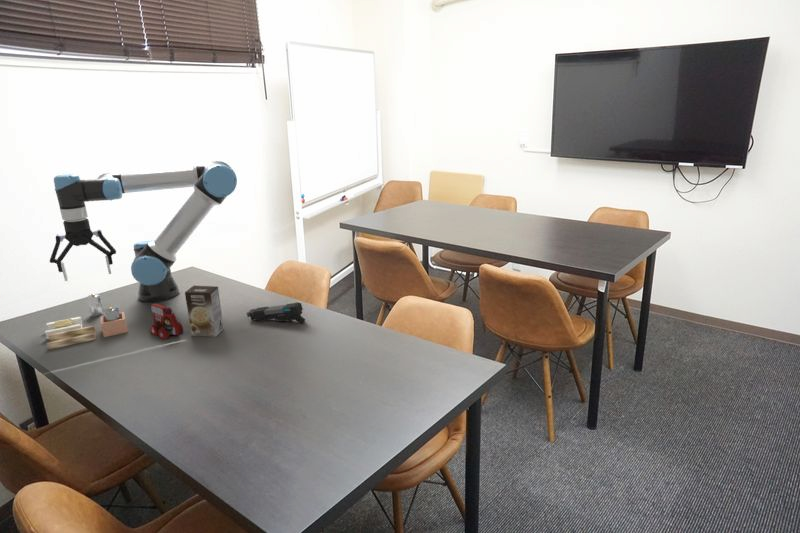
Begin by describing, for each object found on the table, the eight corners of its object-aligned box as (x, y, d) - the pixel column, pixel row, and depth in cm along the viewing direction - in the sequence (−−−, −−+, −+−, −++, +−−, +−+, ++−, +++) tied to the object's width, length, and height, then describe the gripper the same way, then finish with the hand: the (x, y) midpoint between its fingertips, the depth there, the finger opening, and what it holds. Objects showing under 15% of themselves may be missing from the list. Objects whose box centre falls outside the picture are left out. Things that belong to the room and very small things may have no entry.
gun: (303, 324, 171) (292, 299, 168) (256, 338, 176) (245, 313, 174) (308, 319, 175) (297, 294, 172) (262, 332, 180) (251, 308, 178)
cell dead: (121, 327, 171) (117, 304, 168) (122, 331, 167) (117, 308, 165) (108, 329, 169) (103, 307, 166) (109, 334, 165) (104, 311, 163)
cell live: (104, 312, 185) (99, 291, 182) (104, 316, 181) (99, 294, 179) (92, 315, 183) (86, 293, 180) (92, 318, 179) (86, 297, 177)
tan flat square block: (72, 321, 171) (71, 318, 171) (71, 326, 167) (71, 323, 167) (55, 324, 169) (55, 321, 168) (55, 330, 165) (54, 326, 165)
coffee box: (190, 336, 164) (183, 292, 159) (199, 328, 170) (192, 285, 165) (216, 337, 163) (209, 292, 158) (224, 328, 169) (218, 285, 164)
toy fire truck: (169, 343, 160) (163, 314, 157) (147, 334, 166) (142, 306, 163) (187, 335, 165) (183, 306, 162) (166, 326, 172) (161, 299, 168)
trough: (95, 332, 168) (94, 325, 167) (96, 340, 162) (94, 333, 161) (50, 341, 162) (48, 334, 161) (49, 351, 156) (47, 343, 155)
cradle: (82, 324, 175) (80, 316, 174) (82, 333, 168) (80, 325, 167) (48, 330, 170) (46, 323, 169) (47, 340, 163) (45, 332, 162)
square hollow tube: (127, 325, 173) (123, 311, 171) (128, 333, 167) (125, 318, 165) (103, 330, 169) (100, 316, 168) (104, 338, 163) (100, 323, 162)
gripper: (115, 213, 179) (126, 267, 186) (32, 222, 167) (47, 279, 174) (116, 216, 173) (127, 273, 180) (30, 226, 161) (46, 286, 168)
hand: (88, 276), depth 177 cm, fingers open, 13 cm apart
